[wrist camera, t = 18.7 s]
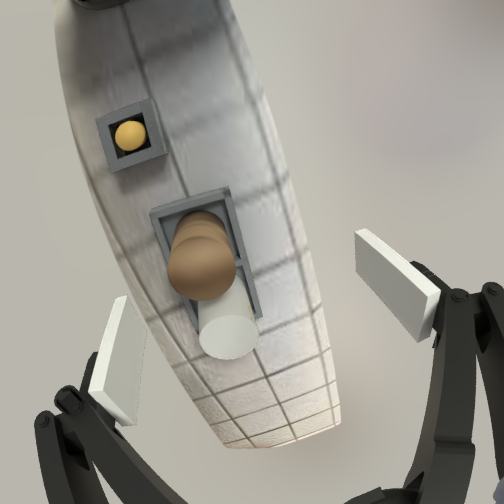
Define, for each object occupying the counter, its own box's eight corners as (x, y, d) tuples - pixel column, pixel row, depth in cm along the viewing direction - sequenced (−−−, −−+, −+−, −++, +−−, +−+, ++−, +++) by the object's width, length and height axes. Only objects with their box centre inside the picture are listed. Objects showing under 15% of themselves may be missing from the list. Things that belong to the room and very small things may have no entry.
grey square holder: (104, 119, 35) (95, 119, 31) (154, 100, 35) (150, 98, 32) (118, 169, 38) (111, 173, 35) (168, 151, 39) (165, 154, 35)
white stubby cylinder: (233, 317, 51) (243, 364, 41) (190, 304, 49) (191, 351, 38) (253, 280, 49) (269, 324, 38) (208, 264, 46) (212, 307, 36)
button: (118, 127, 35) (112, 127, 32) (143, 117, 35) (139, 116, 32) (125, 152, 37) (119, 154, 34) (150, 143, 37) (147, 144, 34)
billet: (167, 218, 42) (157, 251, 31) (218, 203, 43) (226, 231, 32) (183, 264, 46) (181, 307, 35) (231, 250, 46) (243, 290, 35)
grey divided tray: (151, 208, 42) (149, 213, 39) (227, 186, 42) (229, 189, 40) (197, 325, 52) (197, 334, 50) (260, 308, 53) (263, 316, 50)
